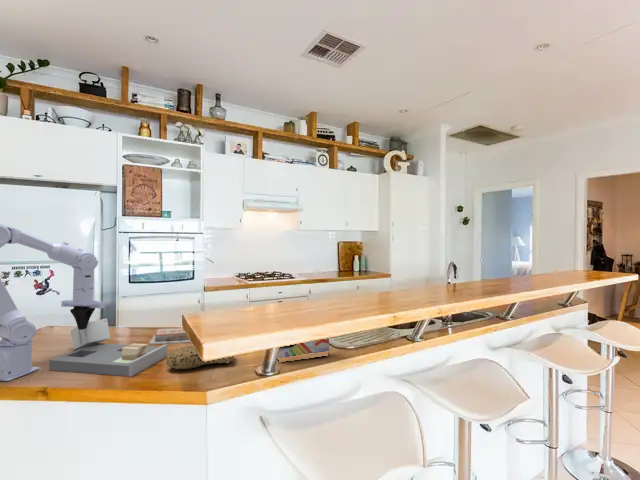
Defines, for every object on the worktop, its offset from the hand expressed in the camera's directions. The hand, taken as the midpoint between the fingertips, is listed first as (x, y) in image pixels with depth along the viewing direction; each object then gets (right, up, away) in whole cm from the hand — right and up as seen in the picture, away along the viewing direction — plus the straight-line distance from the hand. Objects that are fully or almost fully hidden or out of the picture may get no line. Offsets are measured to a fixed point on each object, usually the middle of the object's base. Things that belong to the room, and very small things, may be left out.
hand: (82, 329), depth 116 cm
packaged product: (+22, -11, +22) cm, 33 cm away
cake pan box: (+73, -11, +3) cm, 74 cm away
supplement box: (-7, -6, +11) cm, 14 cm away
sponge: (+42, -11, -5) cm, 43 cm away
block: (+22, -7, -8) cm, 24 cm away
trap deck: (+13, -10, -5) cm, 17 cm away
